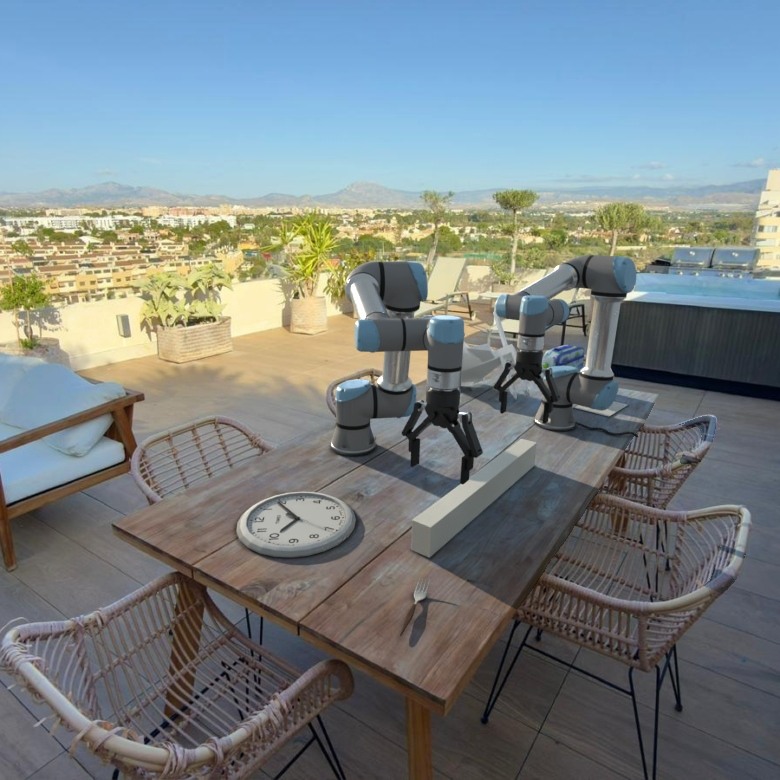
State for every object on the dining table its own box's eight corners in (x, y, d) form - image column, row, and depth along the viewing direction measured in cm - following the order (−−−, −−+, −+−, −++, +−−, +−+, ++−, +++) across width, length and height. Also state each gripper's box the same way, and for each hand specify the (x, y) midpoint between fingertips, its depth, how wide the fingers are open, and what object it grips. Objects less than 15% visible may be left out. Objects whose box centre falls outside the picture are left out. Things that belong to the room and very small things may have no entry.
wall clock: (357, 549, 121) (224, 553, 118) (357, 555, 121) (224, 559, 118) (354, 487, 149) (247, 489, 147) (354, 492, 150) (247, 495, 147)
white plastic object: (461, 429, 252) (437, 405, 227) (444, 352, 274) (420, 323, 250) (535, 404, 240) (518, 377, 215) (510, 326, 262) (492, 293, 237)
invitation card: (608, 416, 214) (573, 407, 224) (608, 416, 214) (573, 408, 224) (628, 404, 229) (594, 396, 238) (628, 405, 229) (594, 397, 238)
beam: (519, 461, 172) (521, 438, 169) (534, 465, 169) (537, 442, 166) (410, 549, 124) (411, 519, 121) (429, 558, 121) (430, 527, 118)
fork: (393, 636, 97) (393, 627, 97) (418, 584, 112) (419, 576, 111) (406, 640, 96) (407, 631, 96) (430, 587, 111) (430, 579, 110)
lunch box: (556, 397, 237) (562, 352, 231) (535, 392, 244) (540, 348, 238) (583, 386, 255) (589, 344, 248) (562, 381, 262) (567, 340, 256)
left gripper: (388, 379, 120) (386, 463, 126) (486, 403, 106) (479, 496, 112) (407, 372, 126) (404, 453, 132) (502, 394, 111) (494, 483, 118)
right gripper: (485, 345, 157) (481, 411, 164) (568, 358, 143) (559, 430, 150) (496, 341, 163) (492, 405, 170) (576, 353, 149) (568, 422, 155)
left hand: (438, 473), depth 122 cm, fingers open, 13 cm apart
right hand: (523, 417), depth 160 cm, fingers open, 13 cm apart
